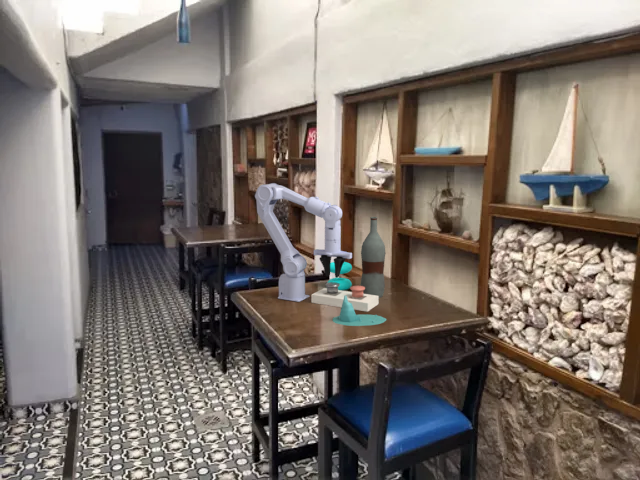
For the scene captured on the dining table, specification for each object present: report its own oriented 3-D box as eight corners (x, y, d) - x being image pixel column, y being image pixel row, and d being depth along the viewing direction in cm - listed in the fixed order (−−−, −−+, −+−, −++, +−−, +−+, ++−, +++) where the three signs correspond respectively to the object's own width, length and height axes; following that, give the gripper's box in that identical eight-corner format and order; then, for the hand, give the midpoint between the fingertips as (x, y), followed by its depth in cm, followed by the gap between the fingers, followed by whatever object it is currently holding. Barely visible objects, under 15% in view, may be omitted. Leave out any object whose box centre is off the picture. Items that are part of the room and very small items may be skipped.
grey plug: (322, 293, 175) (322, 284, 174) (329, 289, 179) (329, 281, 179) (335, 295, 172) (335, 286, 172) (342, 291, 177) (342, 283, 176)
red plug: (347, 296, 170) (347, 288, 169) (353, 293, 174) (354, 284, 174) (361, 298, 168) (361, 290, 167) (367, 295, 172) (367, 286, 171)
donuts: (353, 261, 197) (349, 266, 187) (353, 285, 198) (349, 291, 189) (329, 260, 199) (324, 265, 189) (329, 283, 201) (324, 290, 191)
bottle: (380, 300, 178) (382, 219, 173) (357, 297, 181) (358, 218, 176) (387, 293, 186) (389, 216, 181) (364, 291, 190) (366, 215, 185)
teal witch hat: (394, 326, 151) (395, 300, 150) (331, 328, 150) (331, 301, 148) (386, 314, 163) (387, 289, 162) (327, 315, 162) (327, 290, 160)
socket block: (311, 302, 175) (311, 294, 174) (324, 295, 183) (324, 288, 183) (367, 311, 164) (367, 303, 164) (378, 303, 173) (378, 295, 173)
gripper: (309, 239, 172) (309, 276, 175) (346, 242, 165) (345, 281, 168) (318, 236, 178) (319, 272, 181) (354, 239, 172) (354, 276, 174)
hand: (332, 276), depth 175 cm, fingers open, 3 cm apart
